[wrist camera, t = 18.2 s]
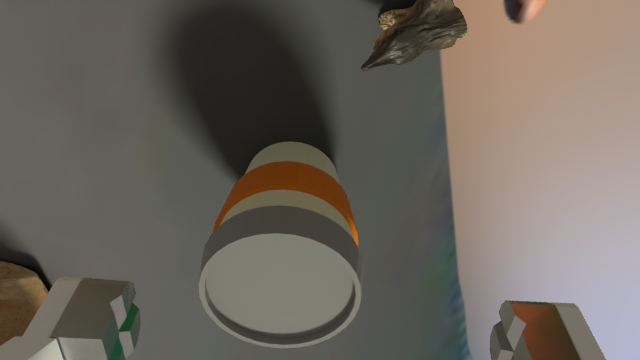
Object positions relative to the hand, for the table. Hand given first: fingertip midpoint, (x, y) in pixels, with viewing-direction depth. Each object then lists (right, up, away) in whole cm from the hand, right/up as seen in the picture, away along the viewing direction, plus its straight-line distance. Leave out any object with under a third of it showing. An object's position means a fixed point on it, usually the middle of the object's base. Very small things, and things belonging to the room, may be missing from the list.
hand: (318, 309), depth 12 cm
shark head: (+7, +16, +31) cm, 35 cm away
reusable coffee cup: (-3, +3, +40) cm, 40 cm away
